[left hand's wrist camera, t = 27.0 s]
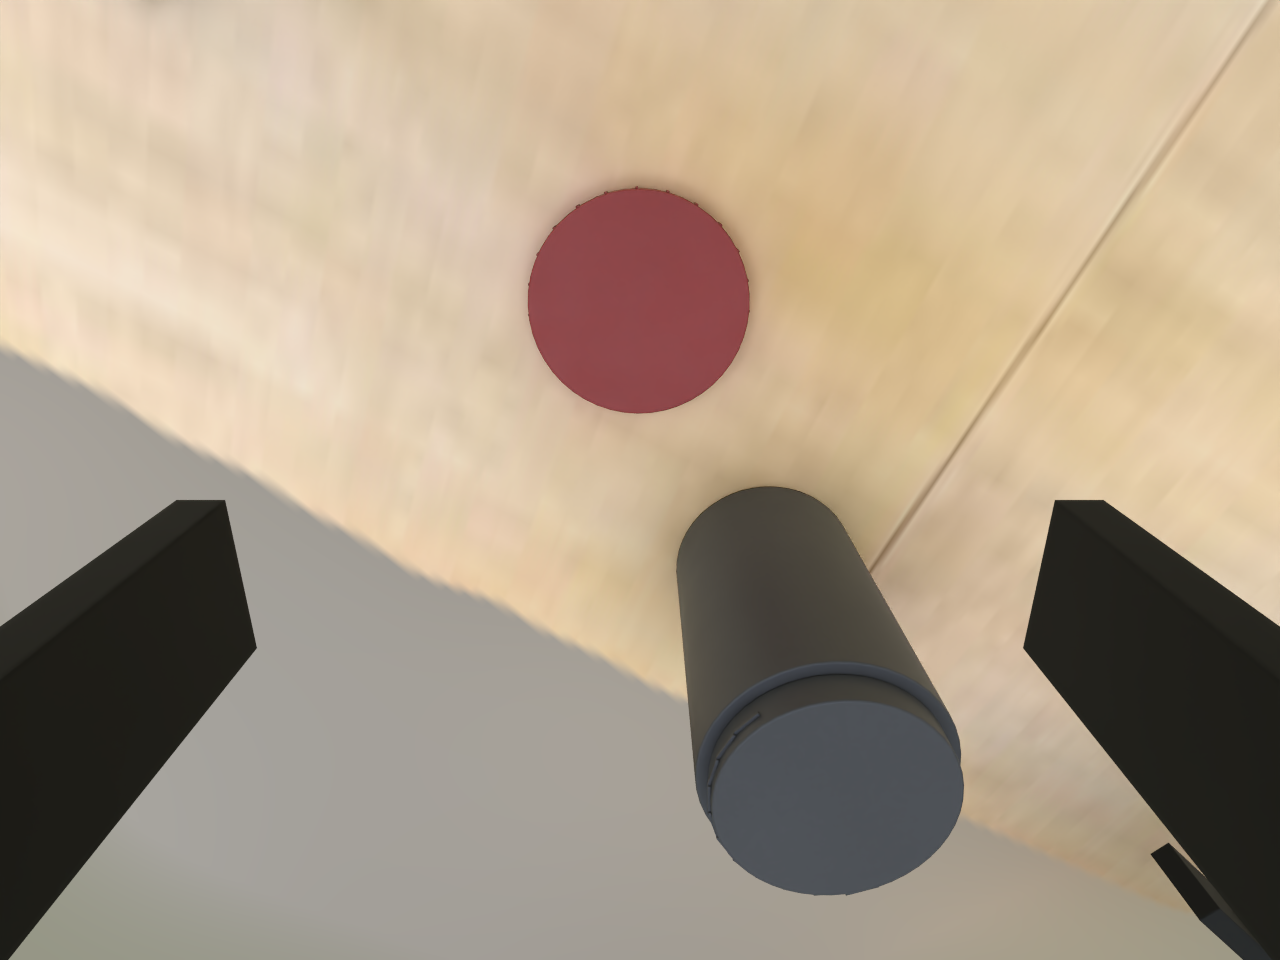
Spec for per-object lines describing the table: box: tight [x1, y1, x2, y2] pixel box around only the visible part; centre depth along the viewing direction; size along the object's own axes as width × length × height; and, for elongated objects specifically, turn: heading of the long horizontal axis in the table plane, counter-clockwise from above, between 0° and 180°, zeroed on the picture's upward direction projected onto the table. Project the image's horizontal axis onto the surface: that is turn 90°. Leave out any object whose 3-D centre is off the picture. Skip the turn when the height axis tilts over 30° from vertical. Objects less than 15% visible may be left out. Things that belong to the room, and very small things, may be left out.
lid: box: [528, 186, 750, 413], centre depth 38 cm, size 11×11×2 cm
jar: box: [676, 487, 964, 895], centre depth 36 cm, size 10×10×18 cm
